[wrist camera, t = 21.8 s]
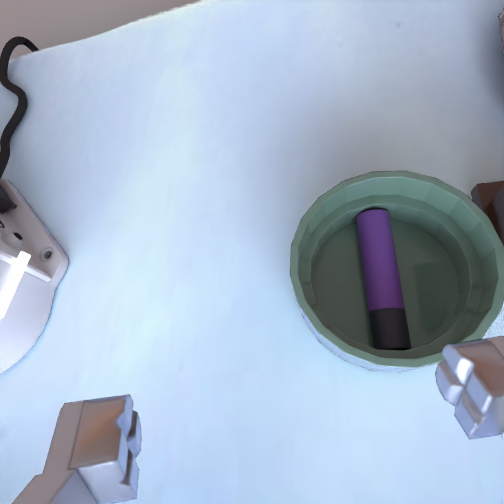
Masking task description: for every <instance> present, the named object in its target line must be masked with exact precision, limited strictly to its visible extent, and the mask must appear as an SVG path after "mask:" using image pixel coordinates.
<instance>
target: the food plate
mask: <svg viewBox="0 0 504 504" xmlns="http://www.w3.org/2000/svg"><path fill="white" fill-rule="evenodd" d="M499 15H500V16H499ZM499 15H498V17H499V18H500V19H499V24H500V31H501V37H502V39H501V40H502V47H503V54H504V9H503V10H502V11H501V13H500V14H499Z"/></svg>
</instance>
